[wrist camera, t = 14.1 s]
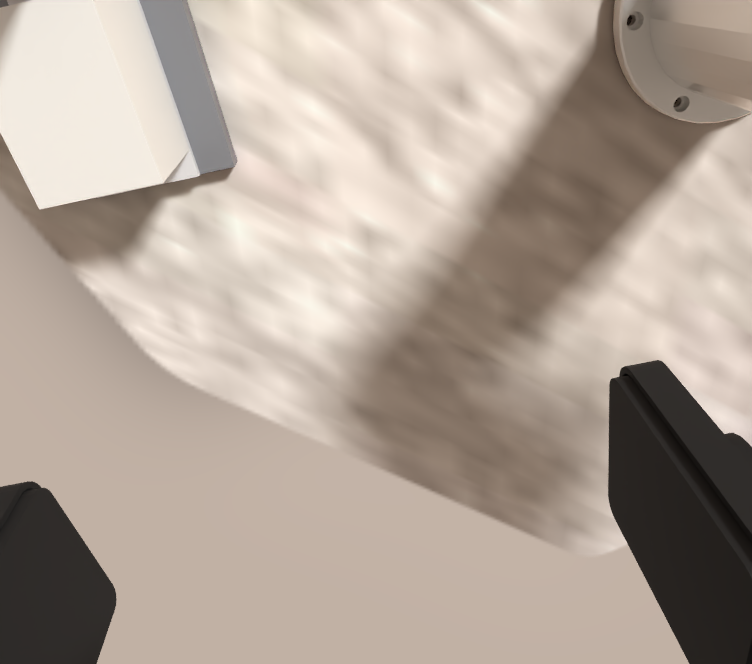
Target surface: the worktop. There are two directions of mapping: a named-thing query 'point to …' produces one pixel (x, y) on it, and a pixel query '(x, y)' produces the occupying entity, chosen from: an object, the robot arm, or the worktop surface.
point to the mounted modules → (84, 100)
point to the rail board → (185, 87)
